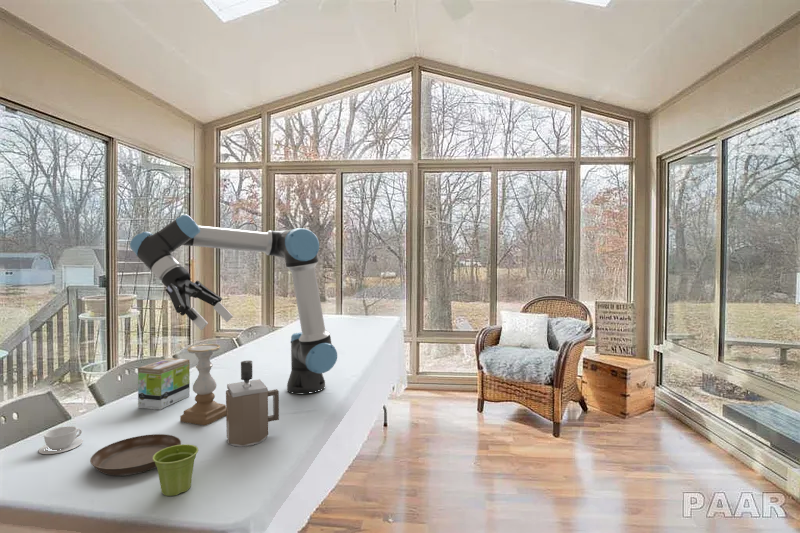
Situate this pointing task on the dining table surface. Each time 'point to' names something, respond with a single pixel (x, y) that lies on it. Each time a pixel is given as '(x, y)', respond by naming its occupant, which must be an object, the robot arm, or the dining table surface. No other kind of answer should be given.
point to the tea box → (163, 383)
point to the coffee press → (249, 412)
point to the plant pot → (175, 468)
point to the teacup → (61, 440)
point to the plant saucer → (131, 454)
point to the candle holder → (204, 390)
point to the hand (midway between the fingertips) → (218, 322)
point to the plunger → (246, 372)
